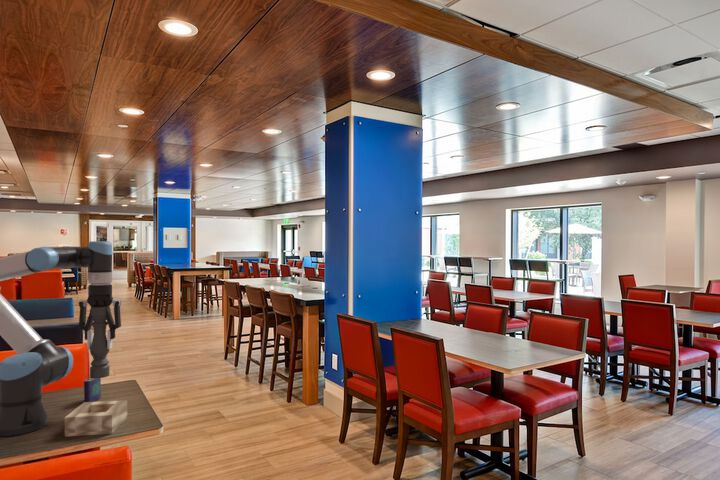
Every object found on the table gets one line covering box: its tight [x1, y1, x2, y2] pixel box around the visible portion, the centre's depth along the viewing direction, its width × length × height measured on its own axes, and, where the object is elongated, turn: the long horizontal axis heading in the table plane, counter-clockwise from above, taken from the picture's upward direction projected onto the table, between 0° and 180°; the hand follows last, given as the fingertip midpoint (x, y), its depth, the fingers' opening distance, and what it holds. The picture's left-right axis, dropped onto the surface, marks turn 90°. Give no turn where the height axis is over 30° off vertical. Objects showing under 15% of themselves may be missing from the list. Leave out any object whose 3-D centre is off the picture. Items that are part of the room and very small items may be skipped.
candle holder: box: [89, 306, 110, 379], centre depth 167 cm, size 6×6×25 cm
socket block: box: [64, 399, 128, 437], centre depth 155 cm, size 14×14×6 cm
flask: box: [83, 377, 102, 403], centre depth 180 cm, size 9×3×11 cm, turn 1°
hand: (100, 348), depth 167 cm, fingers closed on candle holder, 6 cm apart
